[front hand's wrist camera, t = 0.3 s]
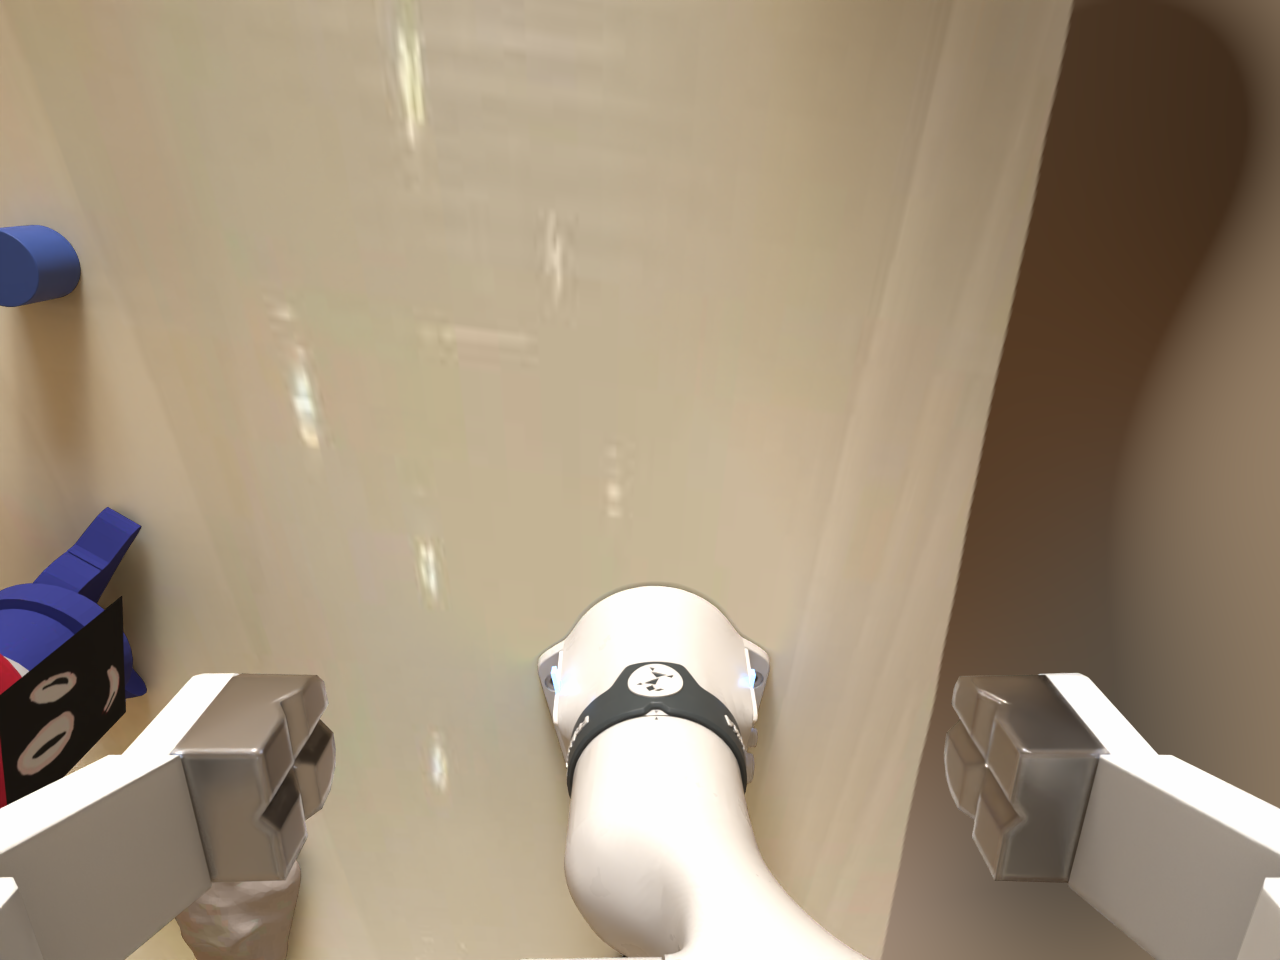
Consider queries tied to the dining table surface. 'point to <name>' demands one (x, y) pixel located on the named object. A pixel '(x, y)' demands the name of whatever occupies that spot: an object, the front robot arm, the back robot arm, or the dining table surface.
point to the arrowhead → (242, 919)
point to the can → (35, 265)
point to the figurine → (63, 661)
